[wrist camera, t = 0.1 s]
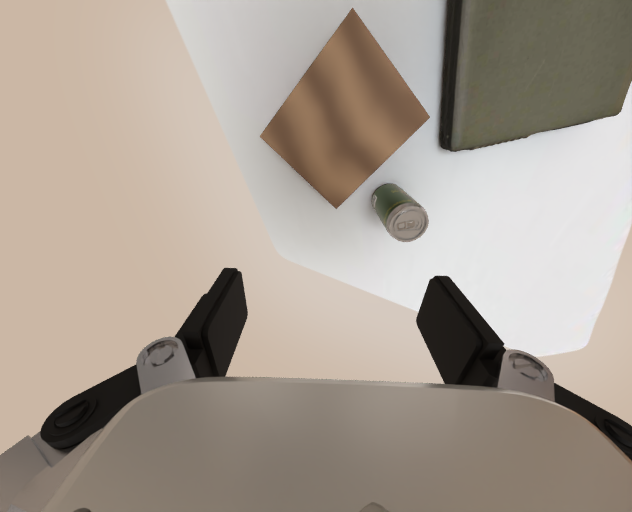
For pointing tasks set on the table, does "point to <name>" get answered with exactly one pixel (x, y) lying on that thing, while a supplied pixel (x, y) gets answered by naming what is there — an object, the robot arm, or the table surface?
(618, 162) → the table surface
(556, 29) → the network switch
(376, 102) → the wooden block
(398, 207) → the beer can
